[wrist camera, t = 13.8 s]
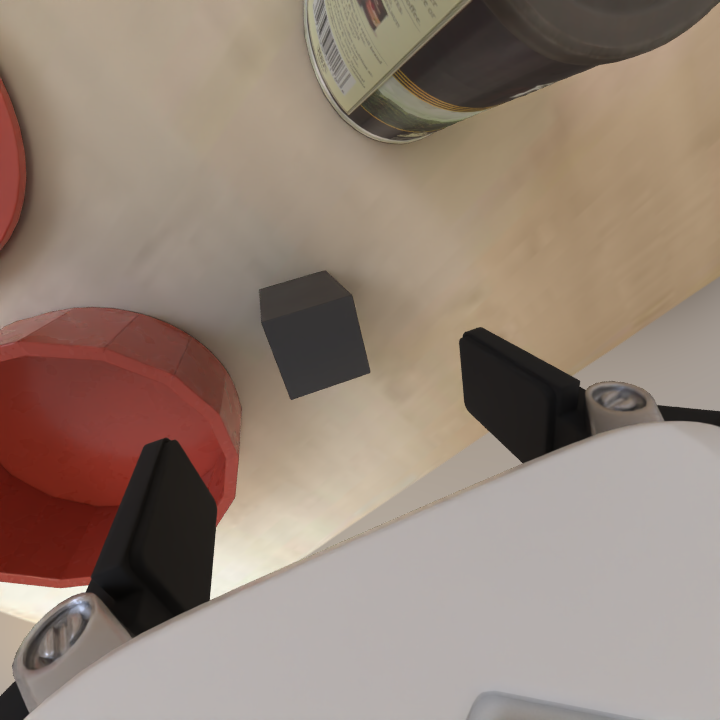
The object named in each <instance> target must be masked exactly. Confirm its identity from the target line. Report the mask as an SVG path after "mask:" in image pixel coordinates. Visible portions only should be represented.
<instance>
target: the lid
mask: <svg viewBox="0 0 720 720" xmlns="http://www.w3.org/2000/svg"><path fill="white" fill-rule="evenodd" d="M25 187H26V163H25V151H24V146H23V141H22V136H21V131H20V127H19V124H18V121H17V118H16V115H15V112H14V109H13V106H12V103H11V100H10V97H9V95H8V93H7V91H6V88H5V86H4V84H3V82H2V80H1V78H0V250H1V249H2V248H3V247H4V245H5V244H6V243H7V241H8V240H9V239H10V237H11V235H12V233H13V230H14V228H15V226H16V224H17V222H18V220H19V217H20V213H21V210H22V206H23V202H24V197H25Z"/></svg>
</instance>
